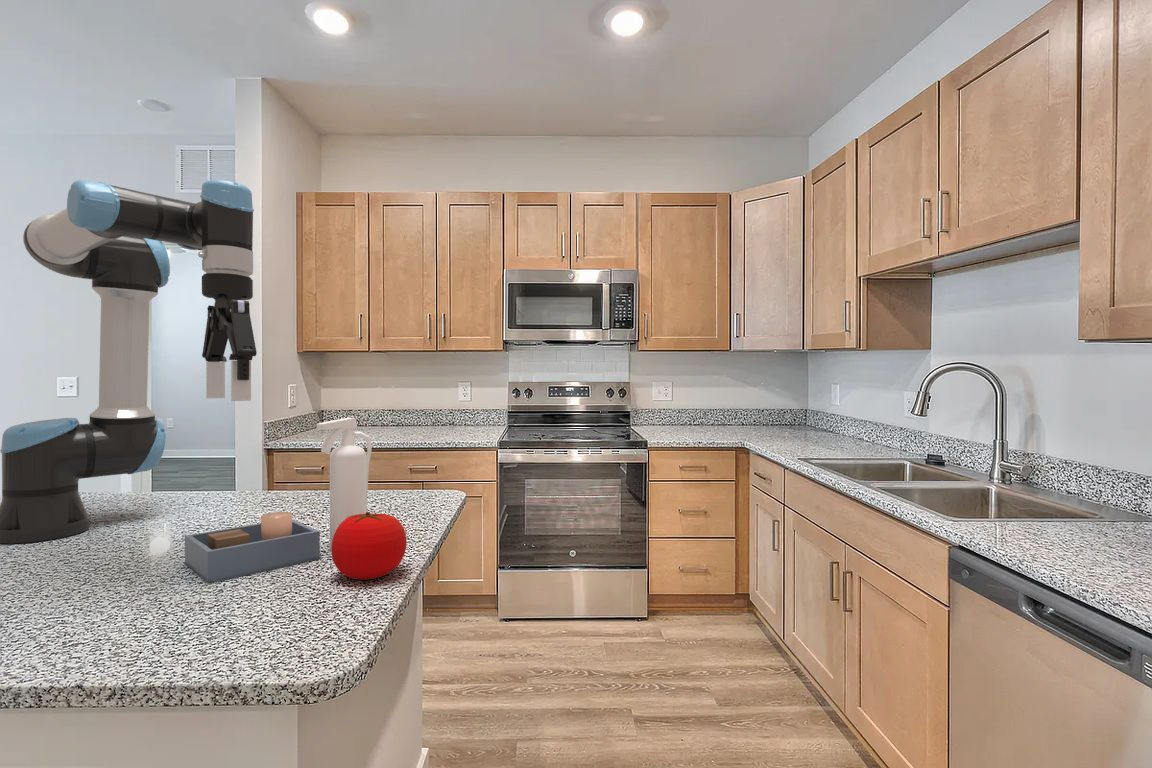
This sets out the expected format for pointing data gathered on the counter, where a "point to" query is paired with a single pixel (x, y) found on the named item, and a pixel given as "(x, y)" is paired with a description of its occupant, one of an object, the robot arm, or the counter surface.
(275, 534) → the peach rounded cylinder
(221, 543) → the walnut cube
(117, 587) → the counter surface
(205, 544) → the tote
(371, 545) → the tomato
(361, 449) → the white spray bottle
